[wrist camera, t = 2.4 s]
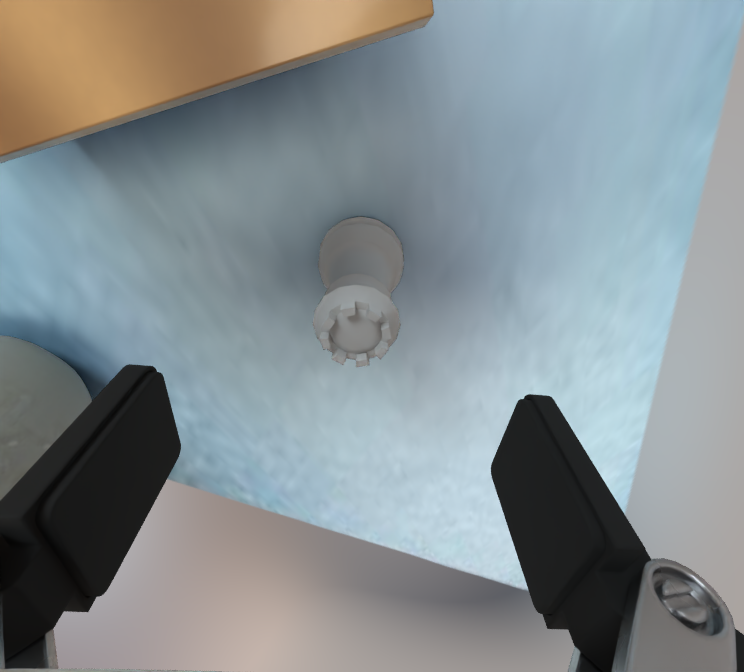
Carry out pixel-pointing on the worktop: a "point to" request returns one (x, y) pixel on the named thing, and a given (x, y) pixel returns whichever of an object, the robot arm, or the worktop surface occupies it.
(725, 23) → the worktop surface
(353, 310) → the rook chess piece
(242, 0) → the board
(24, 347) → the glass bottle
